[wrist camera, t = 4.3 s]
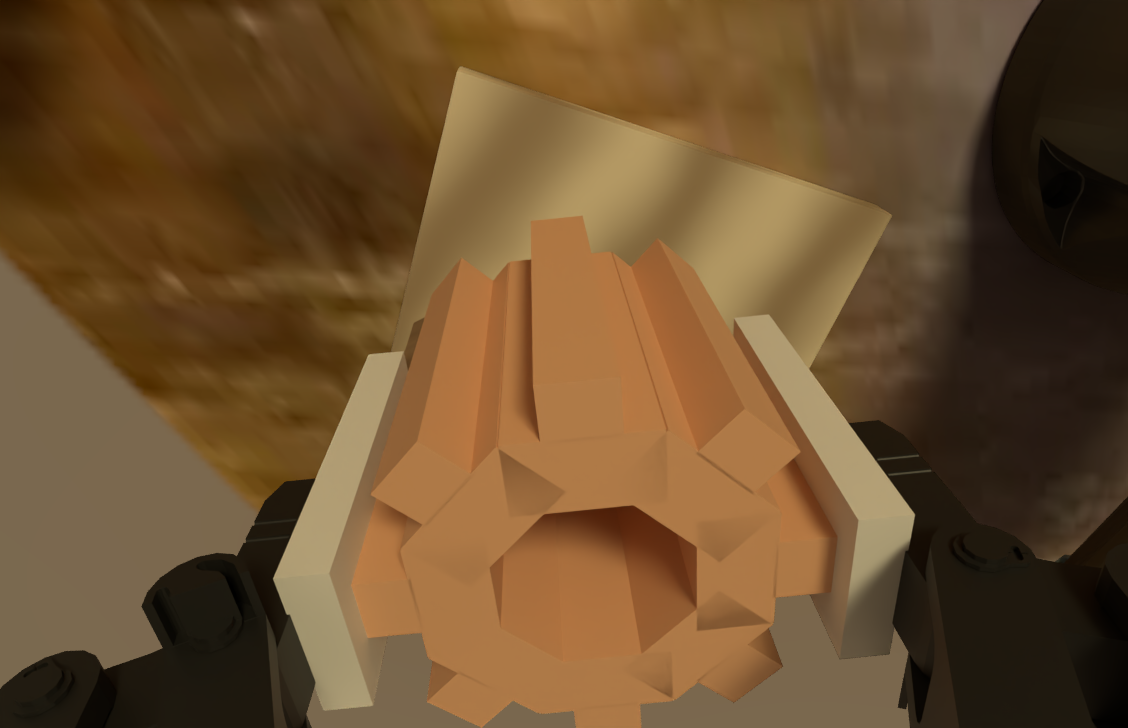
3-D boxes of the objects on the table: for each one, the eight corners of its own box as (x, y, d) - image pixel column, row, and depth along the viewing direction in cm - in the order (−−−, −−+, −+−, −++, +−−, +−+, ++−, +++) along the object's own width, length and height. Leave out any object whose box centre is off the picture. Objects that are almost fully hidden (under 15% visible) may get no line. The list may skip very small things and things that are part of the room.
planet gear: (724, 201, 15) (861, 353, 9) (719, 472, 18) (816, 719, 12) (389, 234, 15) (293, 408, 9) (445, 500, 18) (403, 760, 12)
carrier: (874, 204, 29) (963, 260, 23) (723, 491, 35) (763, 590, 29) (460, 66, 25) (442, 90, 20) (378, 410, 32) (347, 504, 26)
